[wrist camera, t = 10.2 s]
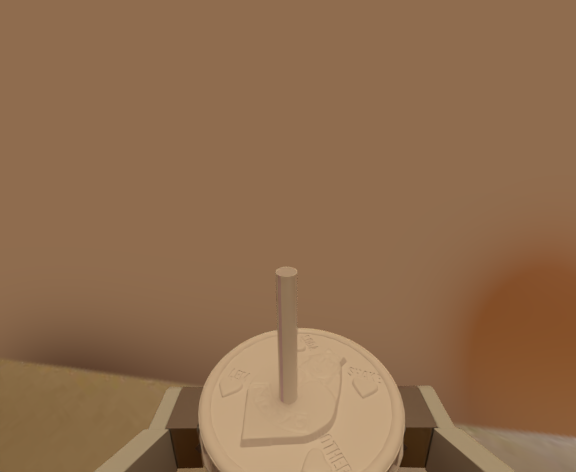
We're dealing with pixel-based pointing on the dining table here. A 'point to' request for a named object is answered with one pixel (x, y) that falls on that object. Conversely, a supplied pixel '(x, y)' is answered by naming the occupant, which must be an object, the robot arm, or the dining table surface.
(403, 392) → the robot arm
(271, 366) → the smoothie
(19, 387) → the dining table surface
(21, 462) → the dining table surface
